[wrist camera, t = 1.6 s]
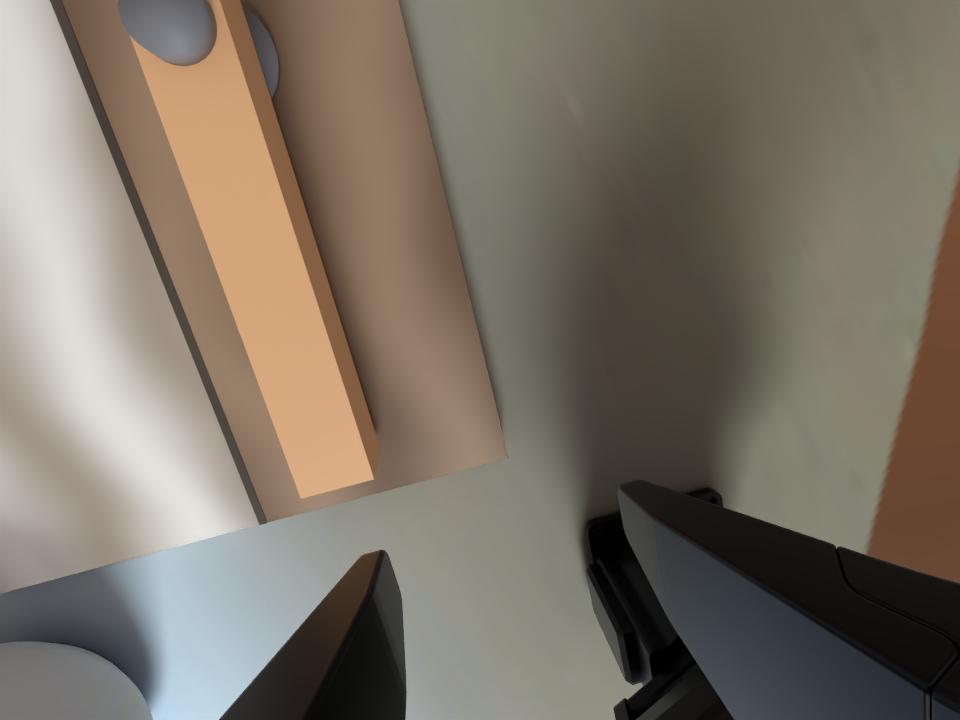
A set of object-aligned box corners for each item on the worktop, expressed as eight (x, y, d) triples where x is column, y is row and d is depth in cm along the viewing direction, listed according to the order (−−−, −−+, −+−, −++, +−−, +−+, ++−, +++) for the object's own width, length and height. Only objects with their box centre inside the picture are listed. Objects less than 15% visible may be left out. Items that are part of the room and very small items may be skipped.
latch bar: (156, 12, 15) (83, -50, 12) (238, -6, 15) (188, -72, 12) (316, 465, 19) (294, 511, 16) (380, 448, 19) (371, 491, 16)
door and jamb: (347, -200, 16) (318, -366, 12) (502, 443, 22) (522, 494, 17) (-374, -58, 15) (-707, -182, 10) (-6, 578, 21) (-122, 668, 16)
